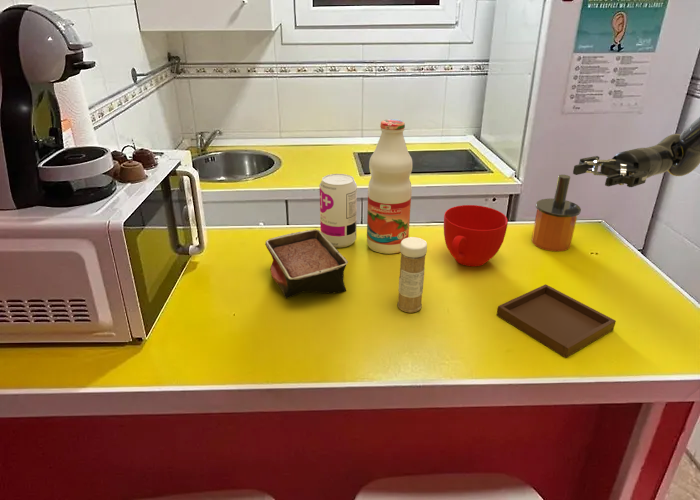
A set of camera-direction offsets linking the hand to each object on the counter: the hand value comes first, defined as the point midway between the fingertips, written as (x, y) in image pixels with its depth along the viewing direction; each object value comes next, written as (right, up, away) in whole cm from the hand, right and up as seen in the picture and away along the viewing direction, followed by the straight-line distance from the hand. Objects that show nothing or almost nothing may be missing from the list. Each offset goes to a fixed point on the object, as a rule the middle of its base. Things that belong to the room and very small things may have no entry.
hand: (590, 175), depth 116 cm
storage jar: (-8, -15, +3) cm, 17 cm away
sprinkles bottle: (-43, -27, -20) cm, 55 cm away
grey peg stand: (-8, -7, -1) cm, 11 cm away
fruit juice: (-46, -16, +2) cm, 48 cm away
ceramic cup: (-29, -20, -6) cm, 35 cm away
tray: (-18, -29, -25) cm, 42 cm away
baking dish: (-62, -23, -13) cm, 68 cm away
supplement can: (-57, -15, +3) cm, 59 cm away
